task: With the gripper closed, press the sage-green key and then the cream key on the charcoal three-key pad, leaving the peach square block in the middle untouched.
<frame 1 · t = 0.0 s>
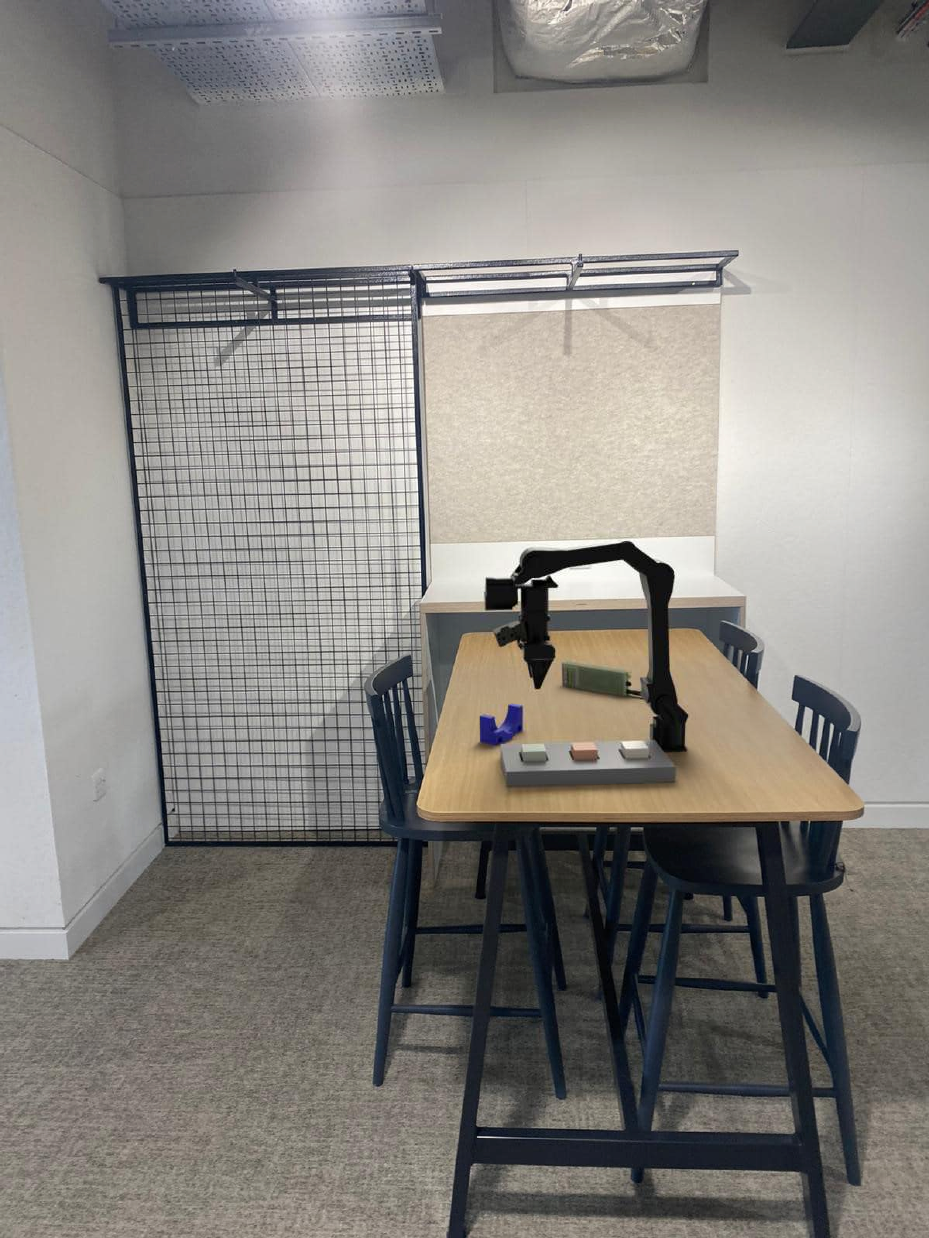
hand: (534, 683, 180), 15 cm above the table, fingers open, 9 cm apart
cream key: (634, 749, 170), point 4 cm above the table, slide at 0.0 cm
cable clip: (504, 737, 192), on the table
peach square block: (584, 751, 170), point 4 cm above the table, slide at 0.0 cm
handheld radio: (603, 692, 227), on the table
keypad: (584, 769, 171), on the table
sage key: (533, 752, 170), point 4 cm above the table, slide at 0.0 cm
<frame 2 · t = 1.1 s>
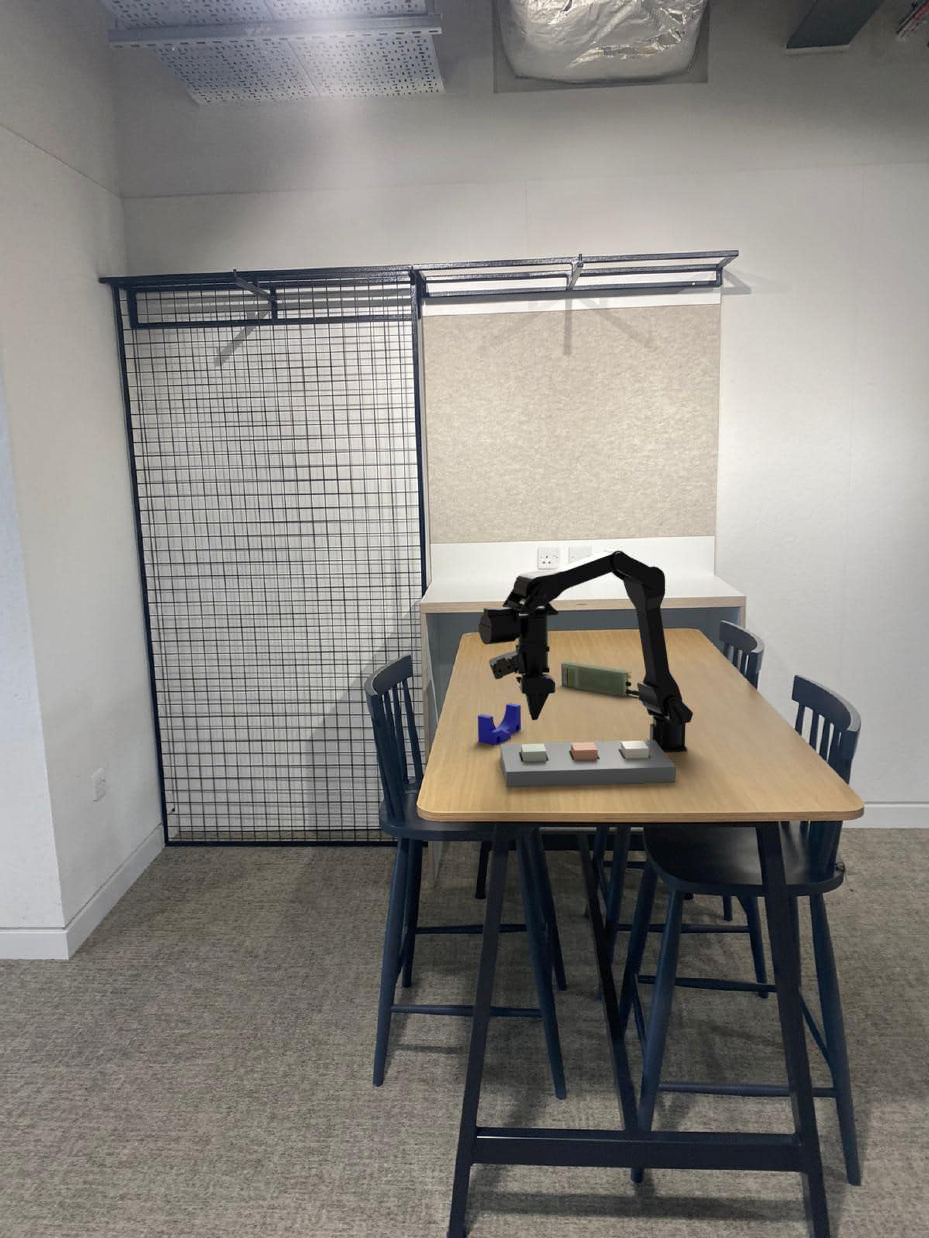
hand: (533, 717, 168), 11 cm above the table, fingers open, 3 cm apart
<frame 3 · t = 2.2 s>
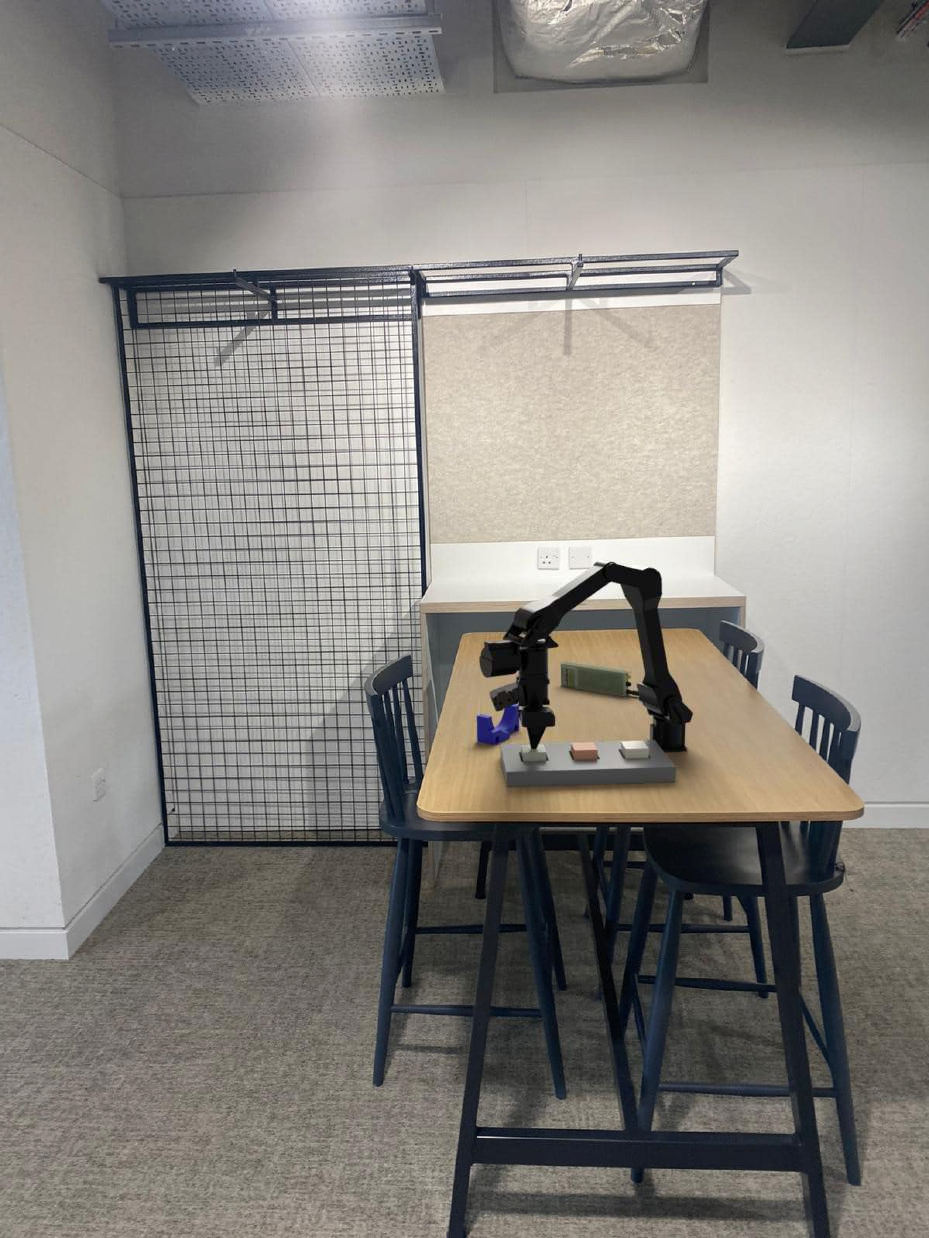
hand: (533, 748, 170), 5 cm above the table, fingers closed, pressing on sage key
sage key: (533, 753, 170), point 4 cm above the table, slide at 0.2 cm, touching gripper
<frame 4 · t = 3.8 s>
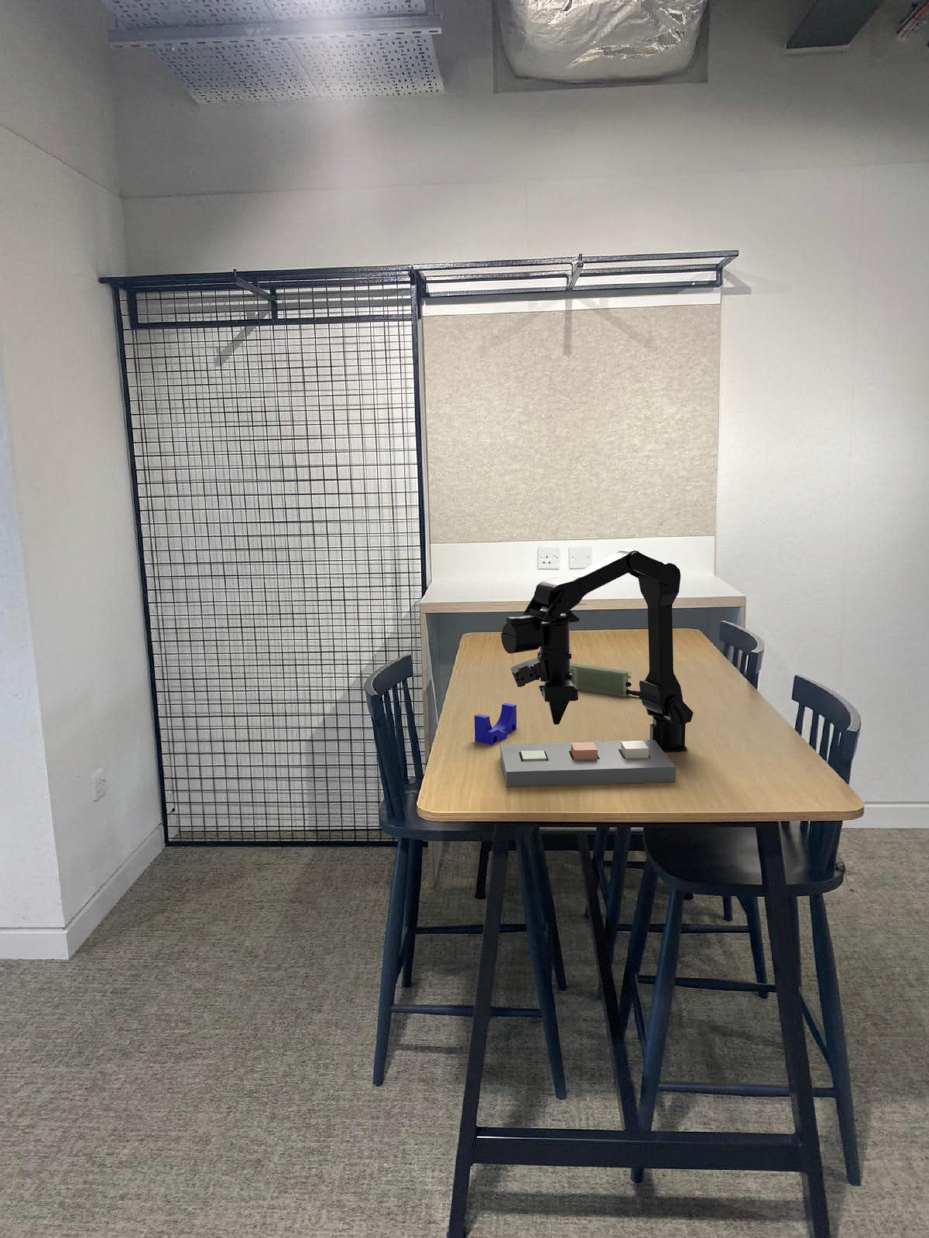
hand: (556, 723, 169), 9 cm above the table, fingers closed
sage key: (533, 759, 170), point 2 cm above the table, slide at 1.4 cm
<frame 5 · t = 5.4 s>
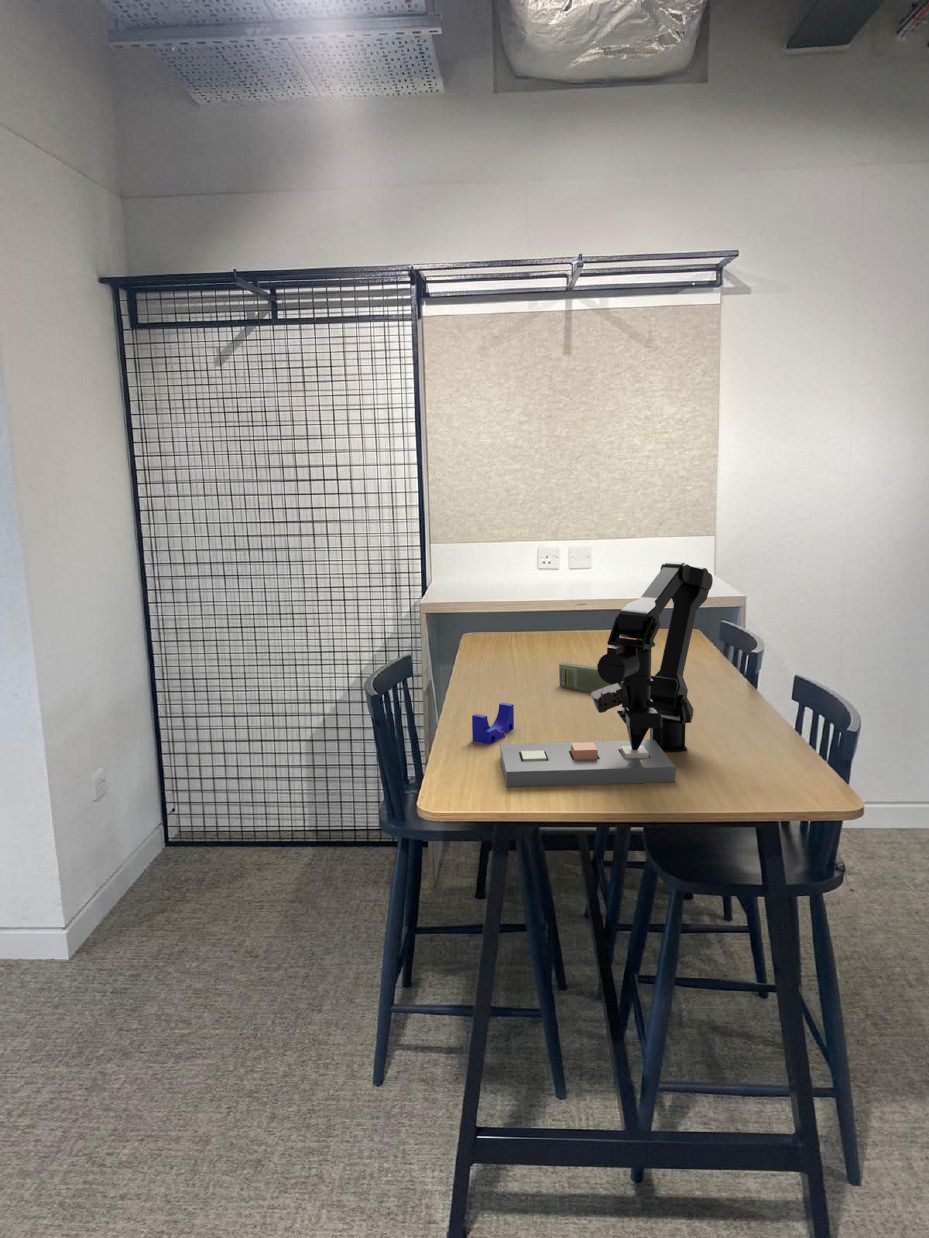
hand: (634, 749, 170), 4 cm above the table, fingers closed, pressing on cream key
cream key: (634, 754, 170), point 3 cm above the table, slide at 1.0 cm, touching gripper
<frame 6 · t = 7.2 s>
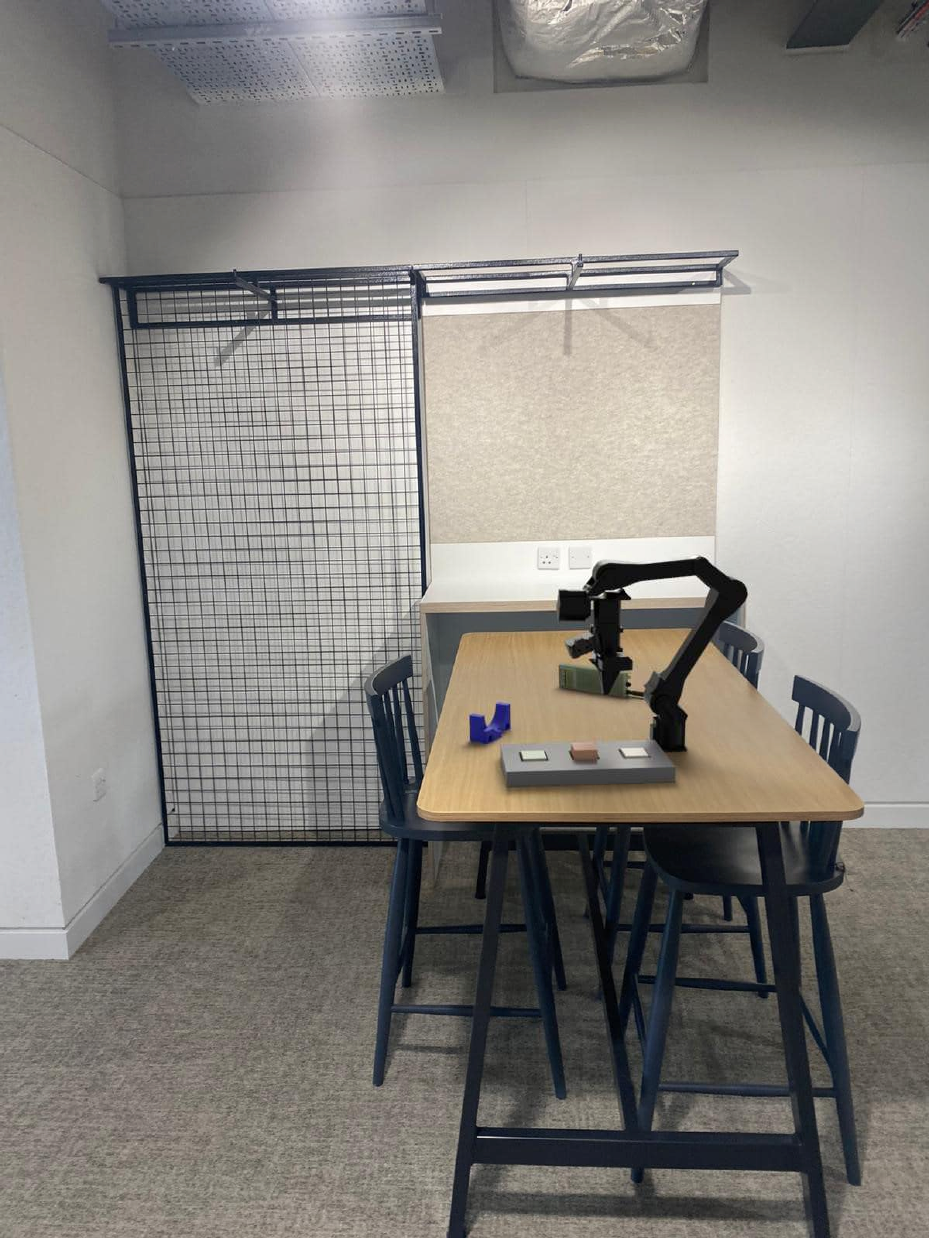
hand: (605, 694, 181), 12 cm above the table, fingers closed
cream key: (634, 756, 171), point 2 cm above the table, slide at 1.4 cm
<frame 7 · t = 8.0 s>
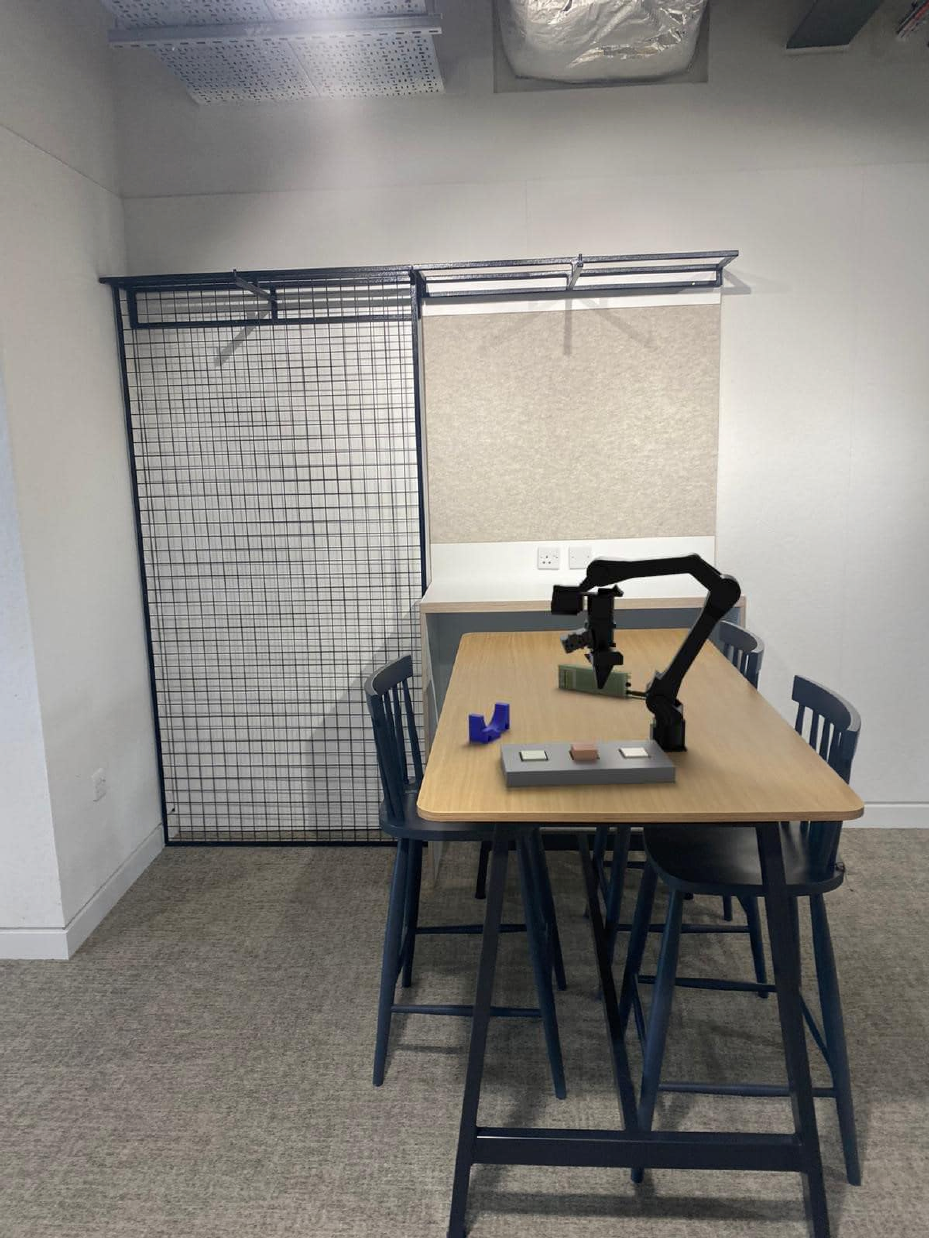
hand: (599, 688, 184), 12 cm above the table, fingers closed
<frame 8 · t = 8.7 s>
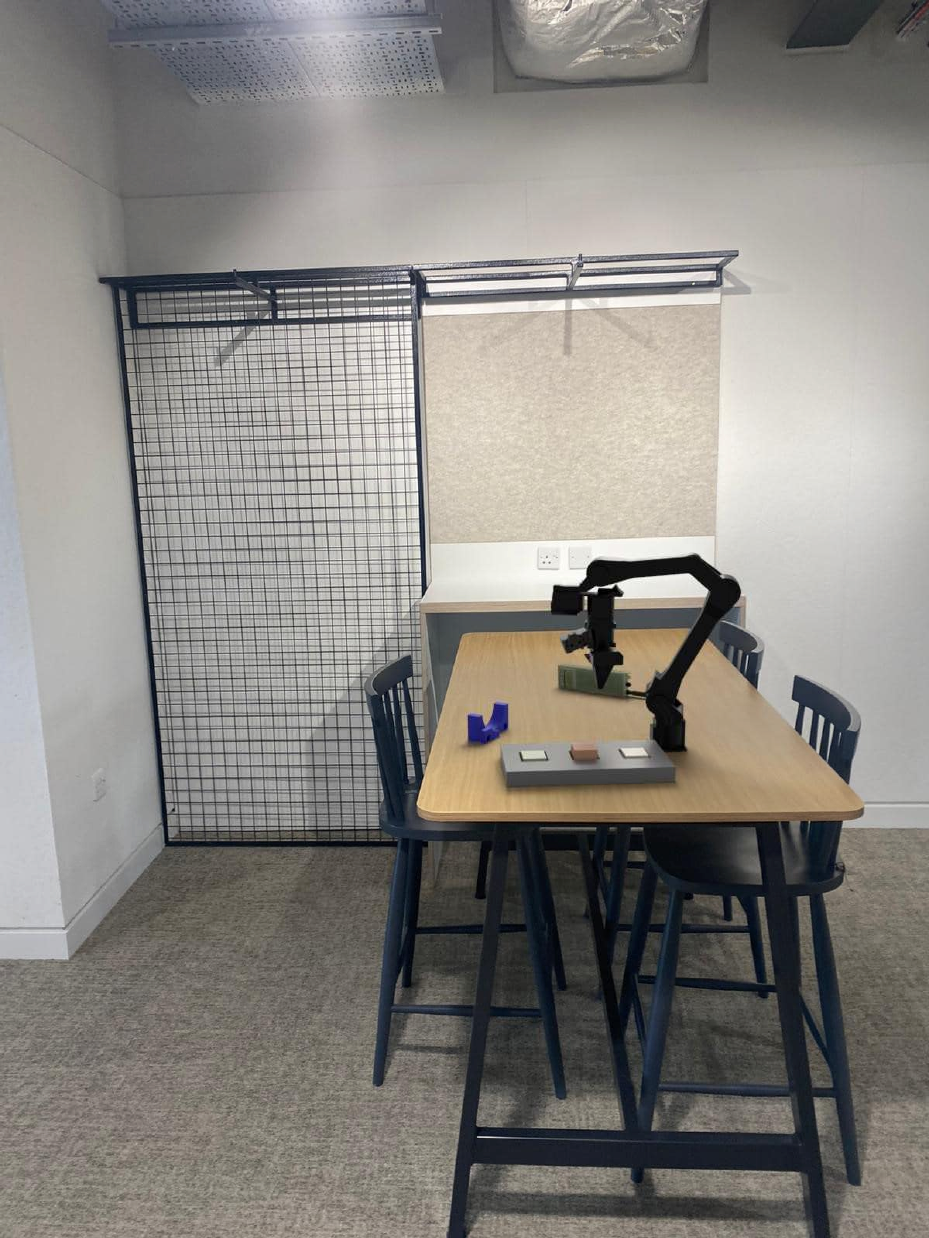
hand: (599, 688, 184), 12 cm above the table, fingers closed
at the end: sage key slide at 1.4 cm; cream key slide at 1.4 cm; peach square block slide at 0.0 cm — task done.
